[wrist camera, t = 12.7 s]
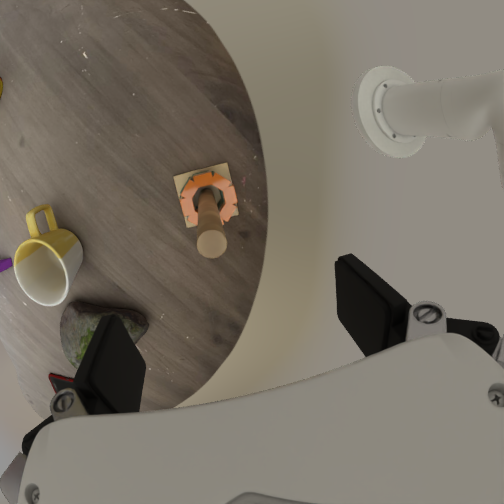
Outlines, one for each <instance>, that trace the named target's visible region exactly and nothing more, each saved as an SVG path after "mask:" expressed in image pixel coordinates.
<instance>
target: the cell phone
mask: <svg viewBox="0 0 504 504" xmlns="http://www.w3.org/2000/svg"><path fill="white" fill-rule="evenodd" d="M48 377H49V380H50V382H51V384H52V387H53V389H54V391H55V393H58V392H59V391H61V390H63V389H66V388H72V389H74V390H75V387H76V386H75V385H74V383H73V379H69V378H65V377H62V376H58V375H54V374H49V376H48Z"/></svg>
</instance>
